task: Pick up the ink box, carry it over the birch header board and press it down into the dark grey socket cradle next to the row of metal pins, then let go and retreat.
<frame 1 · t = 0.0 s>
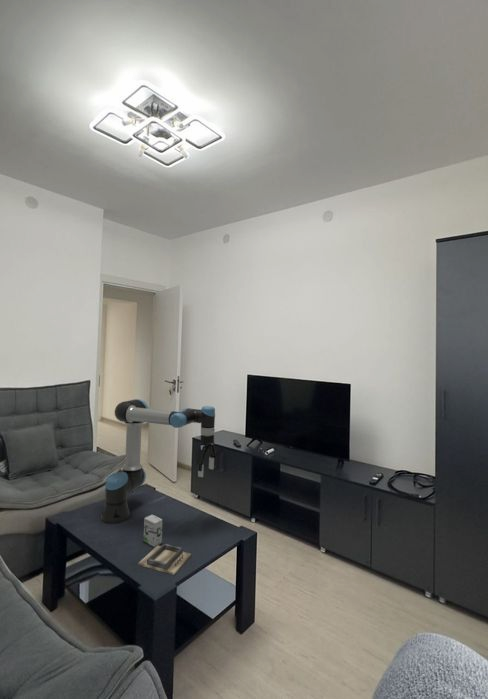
hand: (206, 472, 193), 28 cm above the table, fingers open, 13 cm apart
ink box: (152, 542, 172), on the table
header board: (165, 560, 157), on the table
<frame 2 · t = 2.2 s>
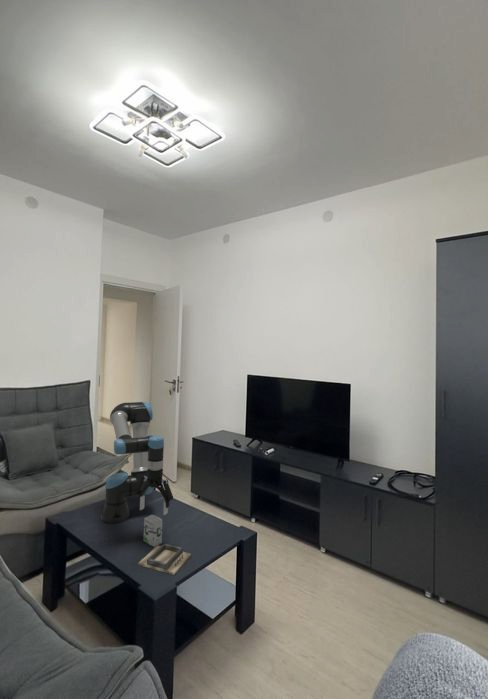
hand: (153, 511, 172), 15 cm above the table, fingers open, 13 cm apart
nothing on the table moved.
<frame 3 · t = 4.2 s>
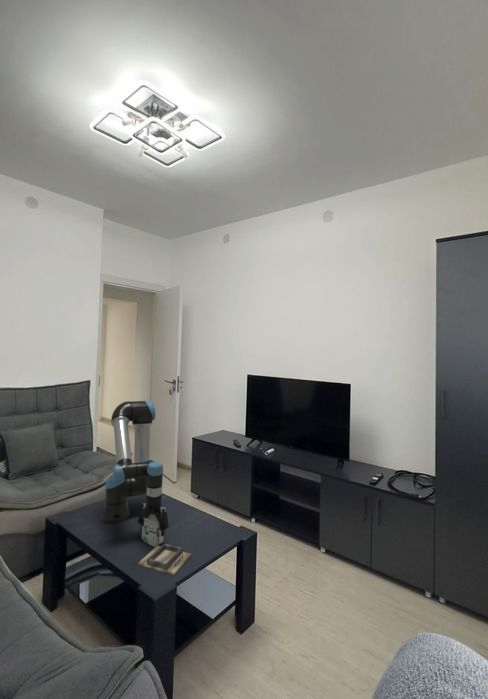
hand: (152, 539, 172), 1 cm above the table, fingers closed on ink box, 9 cm apart
ink box: (152, 542, 172), on the table, touching gripper
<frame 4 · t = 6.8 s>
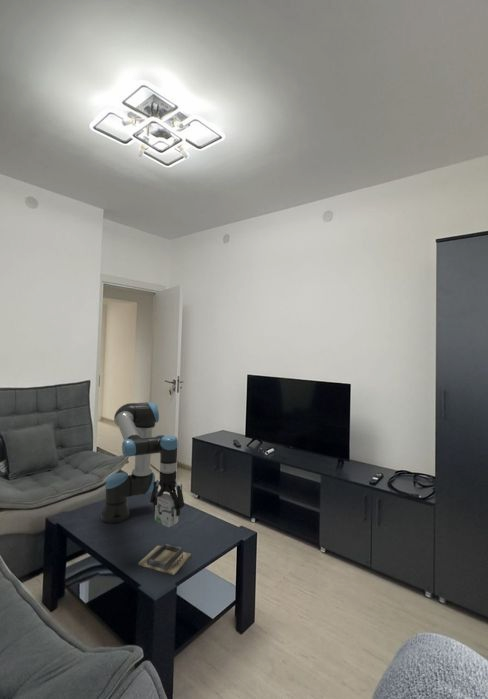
hand: (166, 520, 157), 18 cm above the table, fingers closed on ink box, 9 cm apart
ink box: (166, 523, 157), point 17 cm above the table, touching gripper
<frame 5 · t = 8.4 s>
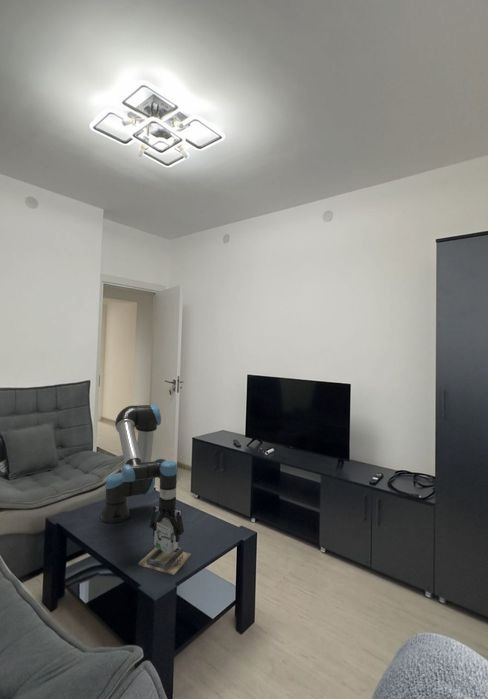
hand: (165, 546, 157), 6 cm above the table, fingers closed on ink box, 9 cm apart
ink box: (165, 549, 157), point 5 cm above the table, touching gripper
when the fingers open (4 cm above the table, at t = 9.3 s): ink box stays where it is, resting on header board.
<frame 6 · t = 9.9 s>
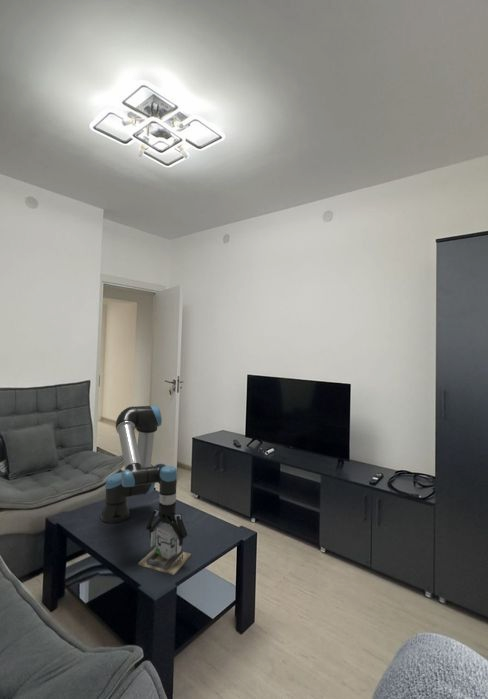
hand: (165, 548, 157), 5 cm above the table, fingers open, 13 cm apart
ink box: (165, 554, 157), point 3 cm above the table, touching header board
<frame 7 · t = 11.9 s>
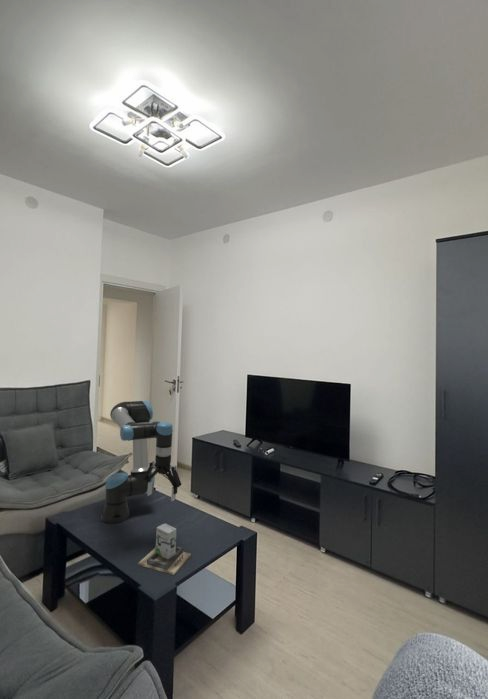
hand: (161, 497, 170), 23 cm above the table, fingers open, 13 cm apart
nothing on the table moved.
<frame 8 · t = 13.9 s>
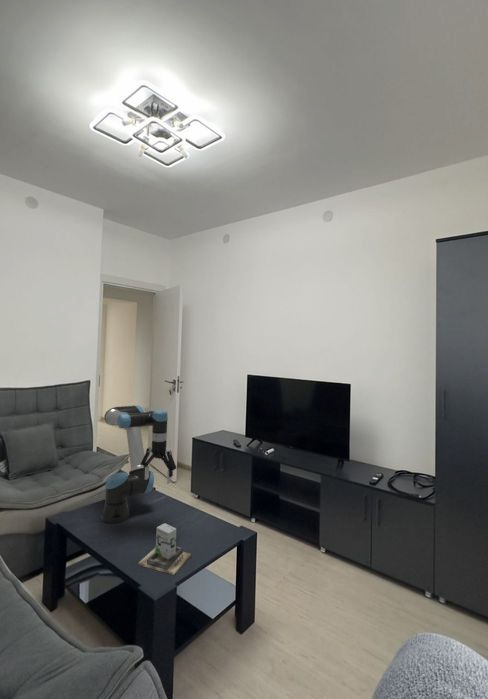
hand: (157, 480, 182), 27 cm above the table, fingers open, 13 cm apart
nothing on the table moved.
at the end: ink box 0.1 cm off-centre on the header board, point 2.8 cm above the header board's base; ink box tilted 0°; the gripper is holding nothing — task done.
